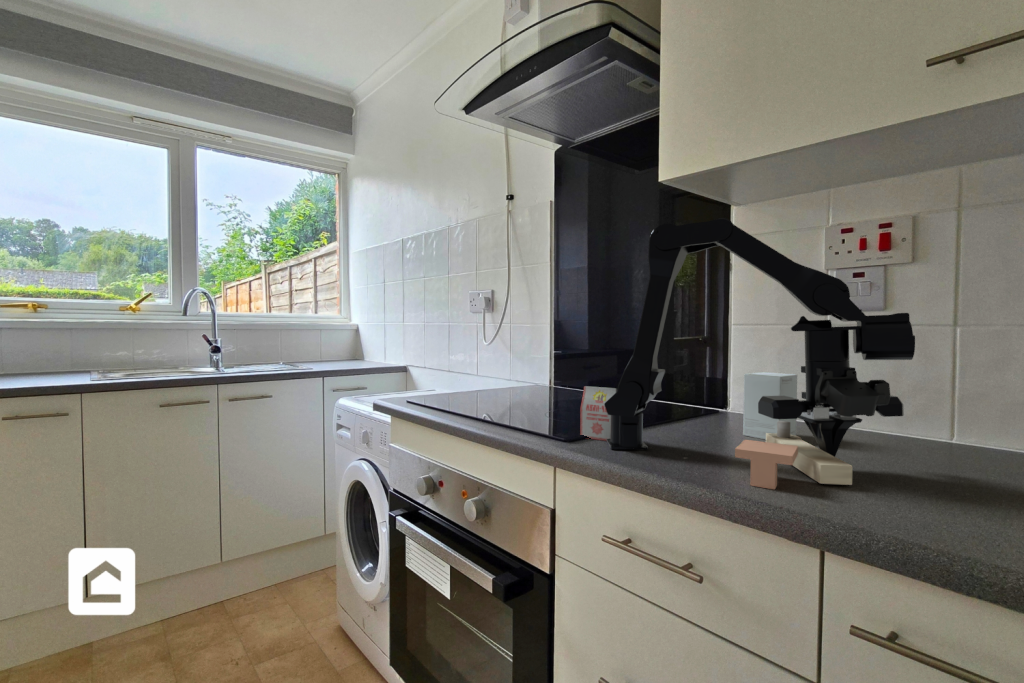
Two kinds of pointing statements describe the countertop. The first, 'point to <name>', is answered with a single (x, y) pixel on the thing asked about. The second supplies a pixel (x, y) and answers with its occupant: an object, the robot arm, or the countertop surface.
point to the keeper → (765, 460)
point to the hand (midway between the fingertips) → (829, 461)
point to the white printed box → (595, 413)
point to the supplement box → (765, 386)
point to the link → (813, 458)
